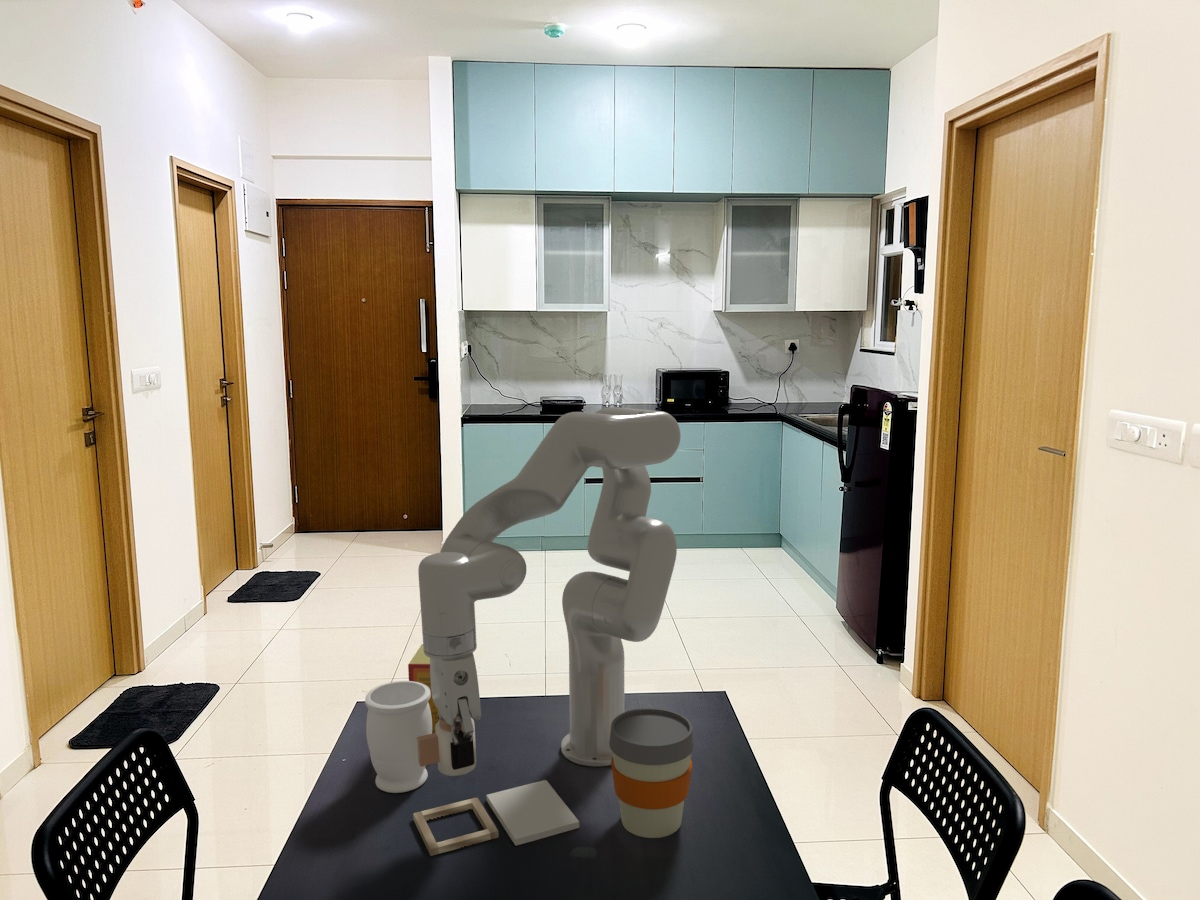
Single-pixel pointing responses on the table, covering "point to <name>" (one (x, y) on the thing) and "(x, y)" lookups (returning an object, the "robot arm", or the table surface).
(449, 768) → the cylinder with brown end
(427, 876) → the table surface
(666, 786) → the reusable coffee cup
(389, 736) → the jar
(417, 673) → the baking soda box
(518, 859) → the table surface
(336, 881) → the table surface
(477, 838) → the wooden square frame
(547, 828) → the mat
